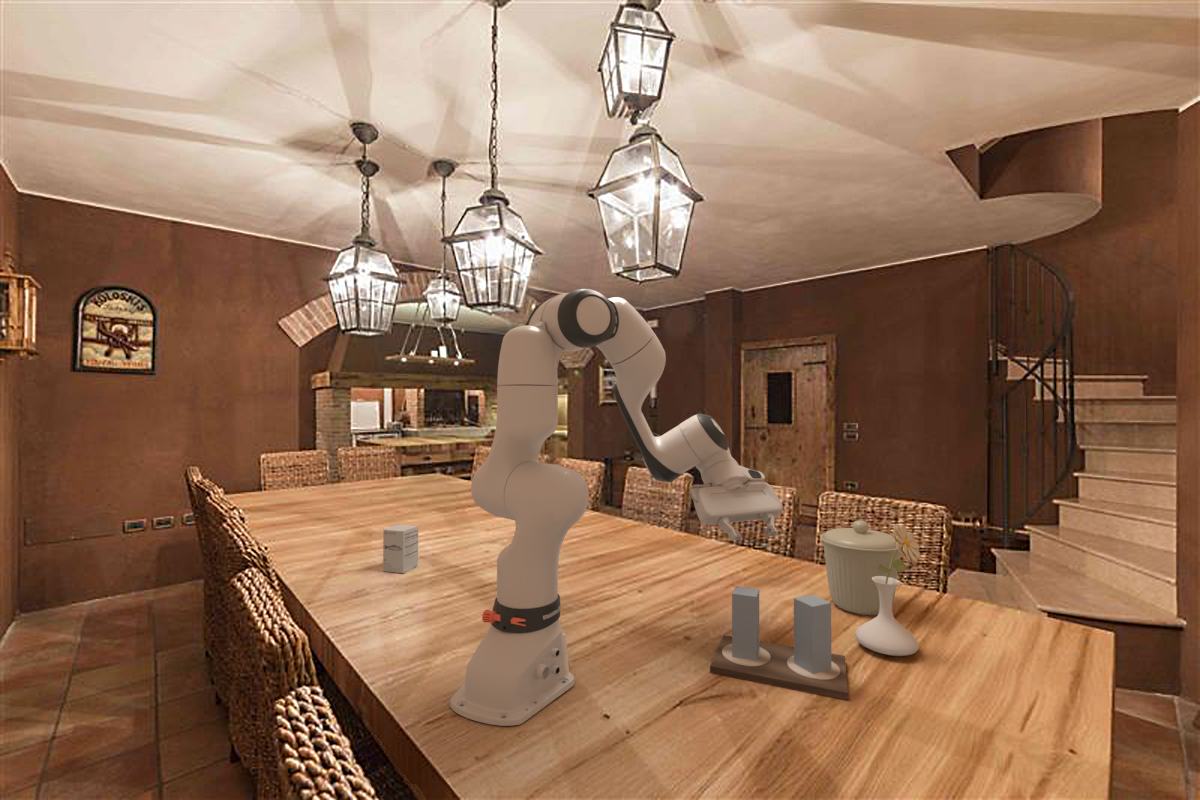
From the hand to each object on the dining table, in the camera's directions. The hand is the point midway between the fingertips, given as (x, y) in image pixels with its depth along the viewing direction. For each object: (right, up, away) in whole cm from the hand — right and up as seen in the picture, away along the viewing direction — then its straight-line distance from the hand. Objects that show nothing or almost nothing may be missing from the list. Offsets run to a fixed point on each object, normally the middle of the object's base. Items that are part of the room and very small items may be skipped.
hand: (755, 536), depth 108 cm
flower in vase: (+27, -22, -2) cm, 35 cm away
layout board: (+2, -22, -9) cm, 24 cm away
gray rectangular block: (+7, -21, -12) cm, 25 cm away
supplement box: (-92, -23, +49) cm, 107 cm away
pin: (-4, -21, -7) cm, 22 cm away
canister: (+31, -22, +19) cm, 43 cm away
